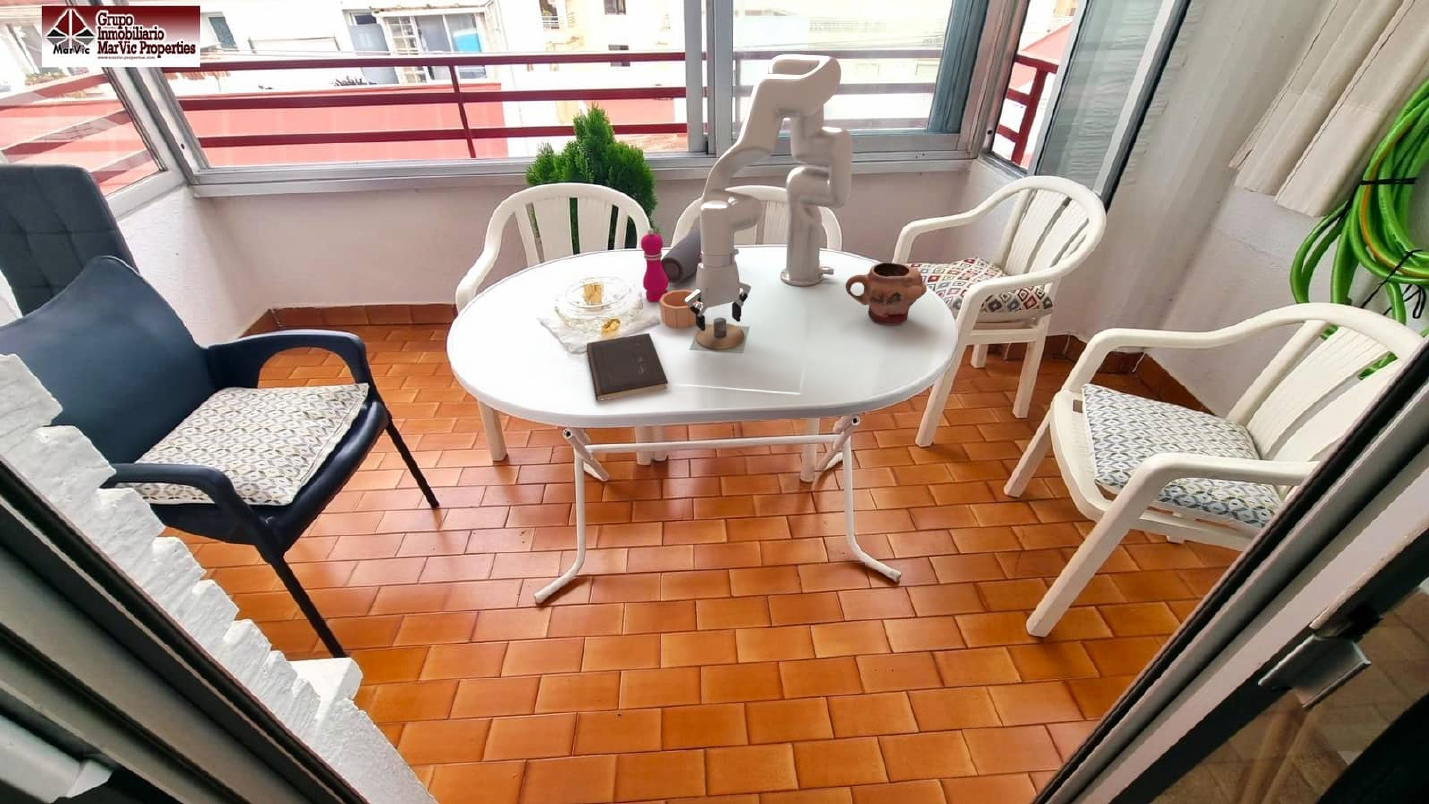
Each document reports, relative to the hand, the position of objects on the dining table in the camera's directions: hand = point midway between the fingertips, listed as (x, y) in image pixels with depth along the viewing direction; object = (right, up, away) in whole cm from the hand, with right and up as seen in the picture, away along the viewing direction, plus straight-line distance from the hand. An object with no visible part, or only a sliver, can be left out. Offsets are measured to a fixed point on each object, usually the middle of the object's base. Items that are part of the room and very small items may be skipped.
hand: (718, 324), depth 142 cm
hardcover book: (-22, -12, -6) cm, 26 cm away
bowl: (-10, +3, +12) cm, 16 cm away
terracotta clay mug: (+43, +3, +9) cm, 44 cm away
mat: (0, -3, +3) cm, 4 cm away
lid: (0, -3, +3) cm, 4 cm away
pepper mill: (-18, +11, +23) cm, 31 cm away
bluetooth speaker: (-9, +21, +37) cm, 43 cm away
